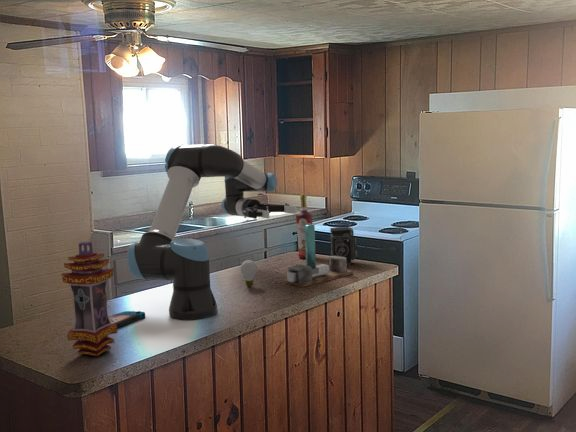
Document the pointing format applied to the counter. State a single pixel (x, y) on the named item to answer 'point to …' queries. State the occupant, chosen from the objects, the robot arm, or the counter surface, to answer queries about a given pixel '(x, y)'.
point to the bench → (336, 270)
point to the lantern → (89, 301)
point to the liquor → (302, 226)
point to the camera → (343, 243)
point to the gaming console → (126, 317)
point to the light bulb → (248, 271)
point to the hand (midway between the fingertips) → (282, 212)
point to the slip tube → (309, 256)
